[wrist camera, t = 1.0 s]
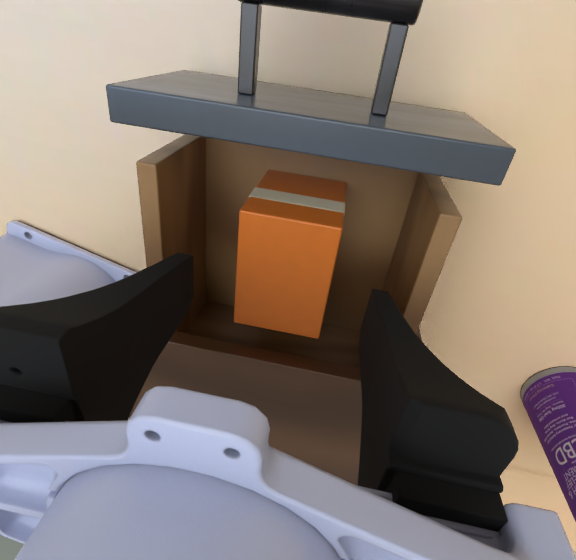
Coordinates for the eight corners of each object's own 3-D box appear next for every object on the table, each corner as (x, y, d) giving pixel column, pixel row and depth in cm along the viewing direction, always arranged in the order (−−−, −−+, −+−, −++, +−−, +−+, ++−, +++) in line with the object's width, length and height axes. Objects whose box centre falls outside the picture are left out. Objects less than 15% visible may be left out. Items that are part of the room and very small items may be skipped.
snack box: (267, 168, 19) (238, 209, 15) (347, 181, 19) (343, 227, 14) (258, 263, 22) (232, 323, 18) (327, 276, 22) (319, 340, 17)
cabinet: (185, 245, 25) (113, 330, 18) (411, 287, 24) (433, 395, 17) (190, 395, 33) (142, 495, 26) (359, 431, 32) (359, 546, 25)
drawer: (180, -44, 16) (82, -88, 10) (506, -1, 15) (594, -24, 9) (189, 296, 26) (141, 369, 20) (388, 334, 25) (397, 422, 19)
